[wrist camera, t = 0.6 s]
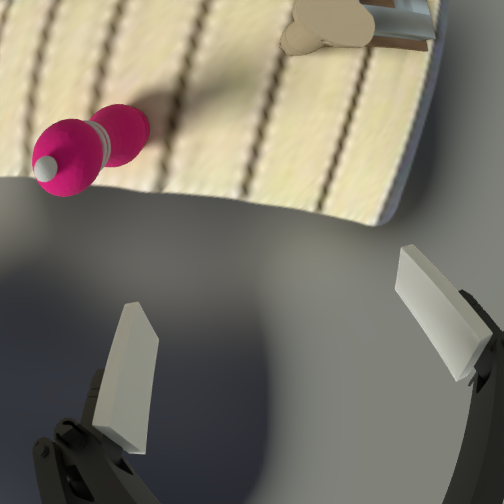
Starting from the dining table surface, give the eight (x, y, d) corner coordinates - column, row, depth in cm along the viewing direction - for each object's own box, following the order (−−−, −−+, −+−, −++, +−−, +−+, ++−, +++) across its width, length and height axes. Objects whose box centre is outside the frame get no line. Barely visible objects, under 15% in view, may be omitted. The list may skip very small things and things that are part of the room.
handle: (271, 21, 26) (305, -23, 13) (320, 39, 28) (380, 12, 15) (260, 53, 28) (288, 24, 15) (309, 70, 30) (366, 57, 17)
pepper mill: (148, 96, 29) (70, 100, 12) (158, 151, 33) (98, 211, 16) (96, 112, 29) (-7, 140, 12) (107, 163, 33) (21, 232, 16)
